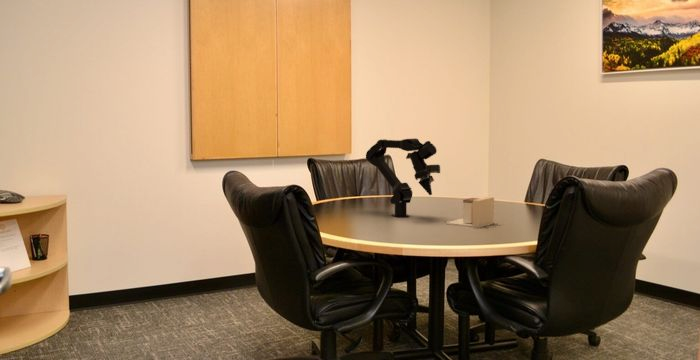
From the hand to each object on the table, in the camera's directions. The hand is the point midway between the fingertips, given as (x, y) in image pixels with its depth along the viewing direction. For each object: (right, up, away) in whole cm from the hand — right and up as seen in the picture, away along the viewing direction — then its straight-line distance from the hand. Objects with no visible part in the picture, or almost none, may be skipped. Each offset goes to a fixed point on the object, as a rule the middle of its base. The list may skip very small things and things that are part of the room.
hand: (430, 194), depth 287 cm
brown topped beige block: (+17, -13, -9) cm, 23 cm away
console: (+16, -12, -8) cm, 22 cm away
